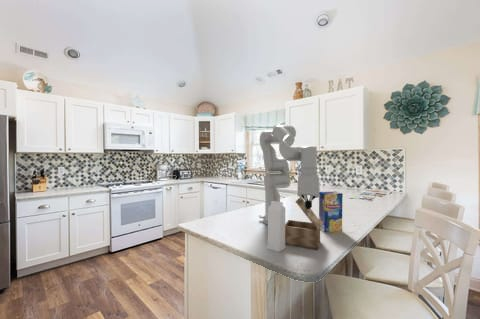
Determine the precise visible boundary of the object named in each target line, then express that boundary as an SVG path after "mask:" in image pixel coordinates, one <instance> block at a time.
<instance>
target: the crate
mask: <svg viewBox="0 0 480 319" xmlns="http://www.w3.org/2000/svg"><path fill="white" fill-rule="evenodd" d="M320 243H321V229H320V228H319V230H317V229H316V227H315V226H314V225H313V224H312V222H311V221H310V222H308V221H300V220H293V219H289V220H287V221H286V222H285V246H291V247H296V248H302V249H309V250H314V251H318V250H319V247H320Z"/></svg>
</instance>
